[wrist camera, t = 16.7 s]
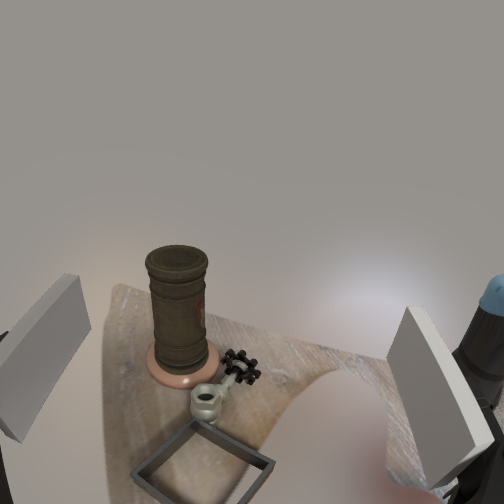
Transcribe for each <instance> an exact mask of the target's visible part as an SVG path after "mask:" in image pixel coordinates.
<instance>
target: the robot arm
mask: <svg viewBox="0 0 504 504" xmlns="http://www.w3.org/2000/svg"><path fill="white" fill-rule="evenodd" d="M90 330H91V325H90V321H89V317H88V313H87V310H86V305H85V301H84V297H83V292H82V288H81V283H80V278H79V276H78V275H72V274H64V275H63V276H62V277H61V278H59V279H58V281H57V282H55V284H53V286H52V287H51V288H50V289H49V290H48V291H47V292H46V293H45V294H44V295H43V296H42V297H41V298H40V299H39V300H38V301H37V302H36V303H35V304H34V305H33V306H32V307H31V308H30V310H29V311H28V312H27V313H26V314H25V315H24V316H23V317H22V318H21V320H19V322H18V323H17V324H16V325H15V326H14V327H13V328H12V330H11V331H10V332H8V331H6V332H5V333H3V334H2V335H0V428H1V430H2V431H3V432H4V434H5V435H6V436H8V437H10V438H11V439H14V440H16V441H17V442H19V443H22V442H23V440H24V438H25V436H26V434H27V433H28V431H29V429H30V427H31V425H32V424H33V422H34V420H35V418H36V416H37V415H38V413H39V411H40V409H41V408H42V406H43V404H44V403H45V401H46V399H47V397H48V396H49V394H50V392H51V391H52V389H53V388H54V386H55V384H56V383H57V381H58V379H59V377H60V376H61V375H62V373H63V371H64V370H65V368H66V366H67V365H68V363H69V362H70V360H71V359H72V357H73V356H74V354H75V352H76V351H77V349H78V348H79V346H80V345H81V343H82V342H83V340H84V339H85V337H86V336H87V334H88V333H89V331H90ZM386 358H387V360H388V363H389V366H390V368H391V371H392V374H393V377H394V379H395V382H396V385H397V388H398V391H399V393H400V396H401V399H402V402H403V405H404V408H405V411H406V414H407V417H408V420H409V424H410V427H411V430H412V433H413V436H414V440H415V443H416V446H417V450H418V453H419V456H420V460H421V463H422V467H423V471H424V474H425V478H426V482H427V486H428V490H430V489H434V488H438V487H442V486H445V485H448V484H449V483H450V482H451V481H452V480H454V479H455V478H456V477H457V479H458V482H459V483H458V484H457V485H456V486H454V487H453V488H452V489H451V490H449V491H448V492H447V493H446V494H445V495H444V496H443V499H445V498H447V497H448V496H449V495H451V496H450V499H449V500H448V503H447V504H504V434H503V432H502V430H501V428H500V426H499V424H498V422H497V420H496V418H495V415H494V413H493V411H494V410H495V409H496V407H497V406H498V404H499V401H500V398H501V395H502V392H503V389H504V274H502V275H498V276H496V277H494V278H493V279H492V280H491V281H490V282H489V284H488V286H487V288H486V290H485V292H484V294H483V296H482V297H481V298H480V301H479V306H478V308H477V311H476V313H475V315H474V317H473V319H472V321H471V324H470V325H469V328H468V329H467V331H466V333H465V335H464V337H463V339H462V341H461V343H460V345H459V347H458V348H457V349H456V350H455V351H454V352H453V353H450V351H449V349H448V347H447V346H446V344H445V342H444V340H443V339H442V337H441V335H440V334H439V332H438V331H437V329H436V327H435V326H434V324H433V322H432V320H431V319H430V317H429V316H428V314H427V313H426V311H425V309H424V308H423V307H417V306H416V307H415V306H407V308H406V311H405V313H404V316H403V319H402V321H401V324H400V326H399V329H398V331H397V334H396V336H395V338H394V341H393V344H392V346H391V348H390V350H389V353H388V355H387V357H386ZM0 504H13V500H12V497H11V493H10V489H9V485H8V481H7V477H6V473H5V468H4V463H3V458H2V453H1V447H0Z"/></svg>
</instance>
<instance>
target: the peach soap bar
mask: <svg viewBox="0 0 504 504" xmlns="http://www.w3.org/2000/svg"><path fill="white" fill-rule="evenodd" d="M206 340H207V342H208V350H209V357H208V360H207V362H206V364H205V365H204V367H203V368H201V369H200V370H199V371H197V372H195V373H192V374H189V375H172V374H169V373H167V372H165V371H164V370H162V369H161V368H160V367H159V365H158V364H157V362H156V360H155V356H154V352H155V351H154V344H155V342H154V343H153V344H152V345H151V346H150V347H149V349H148V351H147V354H146V362H147V367H148V371H149V373H150V375H151V376H152V377H153V378H154V379H155V380H156V381H157V382H159V383H160V384H162V385H164V386H166V387H170V388H174V389H192V388H195V387H196V386H197V385H198V384H201V383H207V382H209V381H210V380H211V379H212V378H213V377H214V376H215V374H216V373H217V371H218V367H219V353H218V350H217V349H216V347H215V346H214V344H213V343H212V342H210V341H209V340H208V339H206Z"/></svg>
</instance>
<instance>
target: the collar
mask: <svg viewBox="0 0 504 504" xmlns="http://www.w3.org/2000/svg"><path fill="white" fill-rule="evenodd" d="M196 432H197V433H198V434H200V435H201V436H203V437H204V438H206V439H208V440H209V441H211V442H213V443H214V444H216V445H218V446H219V447H221V448H223V449H224V450H226V451H228V452H229V453H231V454H233V455H235V456H237V457H238V458H240V459H242V460H244V461H246V462H247V463H249V464H251V465H253V466H255V467H257V468H259V469H261V470H263V472H262V473H261V474H260V476H259V477H258V478H257V480H256V481H255V482H254V483H253V485H252V486H251V487H250V488H249V490H248V491H247V492H246V494H245V495H244V496H243V497H242V498H241V500H240V501H239V502H238V503H237V504H248V503H249V502H250V500H251V499H252V498H253V497H254V495H255V494H256V493H257V491H258V490H259V489H260V488H261V486H262V485H263V483H264V482H265V481H266V479H267V478H268V477H269V475H270V474H271V473H272V471H273V469H274V466H275V463H276V461H274V460H272V459H270V458H268V457H266V456H264V455H262V454H260V453H258V452H256V451H254V450H252V449H251V448H249V447H247V446H245V445H243V444H241V443H240V442H238V441H236V440H234V439H232V438H231V437H229V436H227V435H225V434H224V433H222V432H220V431H219V430H217V429H215V428H214V427H212V426H210V425H209V424H207V423H205V422H204V421H202V420H200V419H197V418H196V417H194V416H193V417H192V418H191V419H190V420H189V421H188V422H187V423H186V424H185V425H184V426H183V427H182V428H181V429H179V430H178V431H177V432H176V433H175V434H174V435H173V436H172V437H171V438H170V439H169V440H167V441H166V442H165V443H164V444H163V445H162V446H161V447H160V448H159V449H157V450H156V451H155V452H154V453H153V454H152V455H151V456H149V457H148V458H147V459H146V460H145V461H144V462H143V463H141V464H140V465H139V466H138V467H137V468H136V469H134V470H133V471H132V472H131V473H130V475H131V477H132V479H133V480H134V482H135V483H136V484H137V485H138V486H139V487H141V488H142V489H143V490H144V491H146V492H147V493H148V494H149V495H151V496H152V497H153V498H155V499H156V500H157V501H159V502H160V503H161V504H176V503H174V502H173V501H171V500H170V499H169V498H167V497H166V496H164V495H163V494H162V493H160V492H159V491H158V490H156V489H155V488H154V487H153V486H151V485H150V484H149V483H147V482H146V481H145V479H146V478H148V477H149V476H150V475H151V474H152V473H153V472H154V471H155V470H156V469H158V468H159V467H160V466H161V465H162V464H163V463H164V462H165V461H166V460H167V459H168V458H170V457H171V456H172V455H173V454H174V453H175V452H176V451H177V450H178V449H179V448H180V447H181V446H182V445H183V444H184V443H185V442H186V441H188V440H189V439H190V438H191V437H192V436H193V435H194V434H195V433H196Z"/></svg>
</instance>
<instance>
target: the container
mask: <svg viewBox="0 0 504 504" xmlns="http://www.w3.org/2000/svg"><path fill="white" fill-rule="evenodd" d="M145 266H146V268H147V270H148V275H149V277H150V285H149V288H150V291H151V299H152V309H153V318H154V337H155V344H154V351H155V352H154V356H155V360H156V362H157V364H158V365H159V367H160V368H161V369H162V370H164V371H165V372H167V373H169V374H172V375H189V374H192V373H195V372H197V371H199V370H200V369H201V368H203V367H204V365H205V364H206V362H207V360H208V357H209V350H208V342H207V340H206V338H205V336H206V328H205V299H204V298H205V296H204V294H205V287H206V284H205V281H204V277H205V274H206V268H207V266H208V258H207V256H206V254H205V253H204V252H203V251H201V250H200V249H197V248H195V247H191V246H185V245H169V246H164V247H160V248H157V249H155V250H153V251H152V252H150V253H149V254H148V255H147V257H146V260H145Z"/></svg>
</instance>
